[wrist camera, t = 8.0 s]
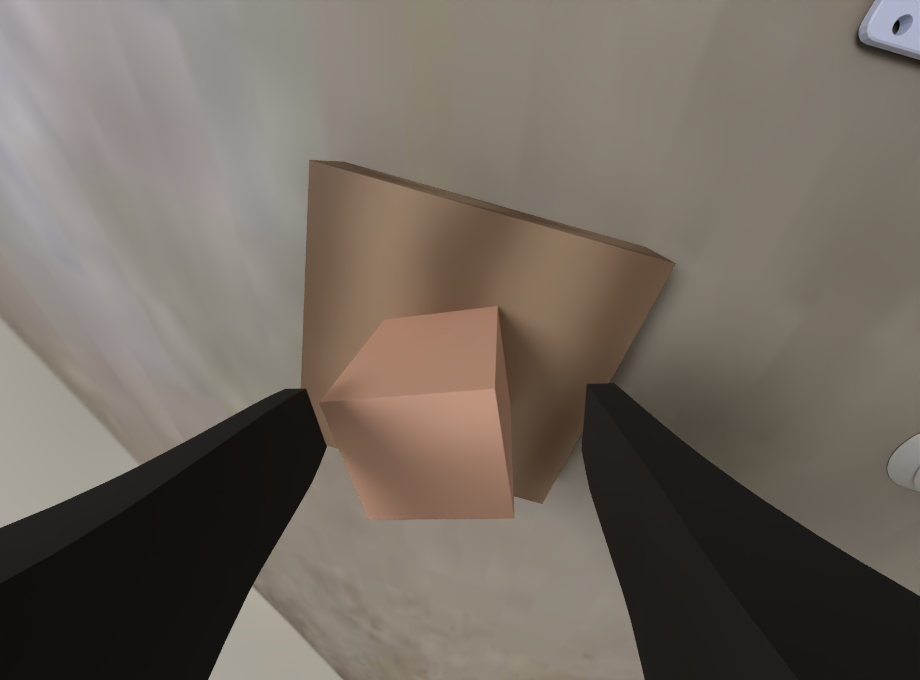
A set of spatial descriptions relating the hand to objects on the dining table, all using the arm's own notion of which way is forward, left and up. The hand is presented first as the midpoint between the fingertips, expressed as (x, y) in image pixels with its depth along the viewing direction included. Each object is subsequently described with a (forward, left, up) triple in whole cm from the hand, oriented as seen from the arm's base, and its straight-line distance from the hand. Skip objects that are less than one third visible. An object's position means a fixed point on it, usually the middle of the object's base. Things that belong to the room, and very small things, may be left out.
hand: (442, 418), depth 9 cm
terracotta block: (0, +2, -7) cm, 7 cm away
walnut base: (0, +3, -10) cm, 10 cm away
